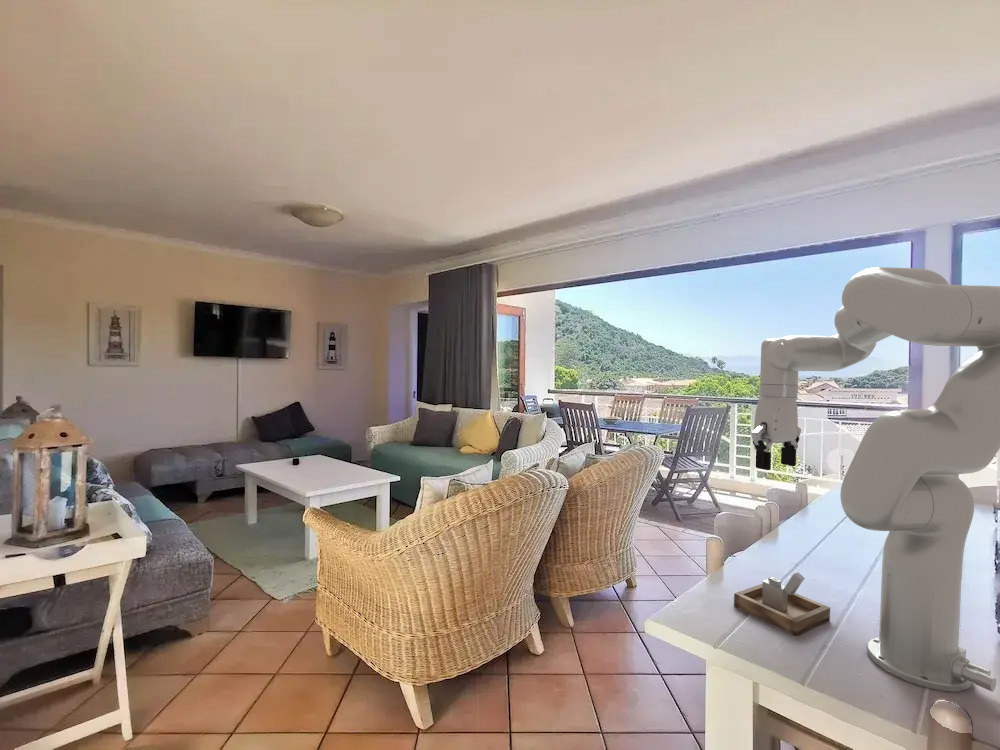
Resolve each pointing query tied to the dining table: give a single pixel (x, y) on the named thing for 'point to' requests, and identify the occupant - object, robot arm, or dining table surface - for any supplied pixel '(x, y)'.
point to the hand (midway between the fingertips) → (775, 466)
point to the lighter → (780, 591)
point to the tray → (793, 620)
